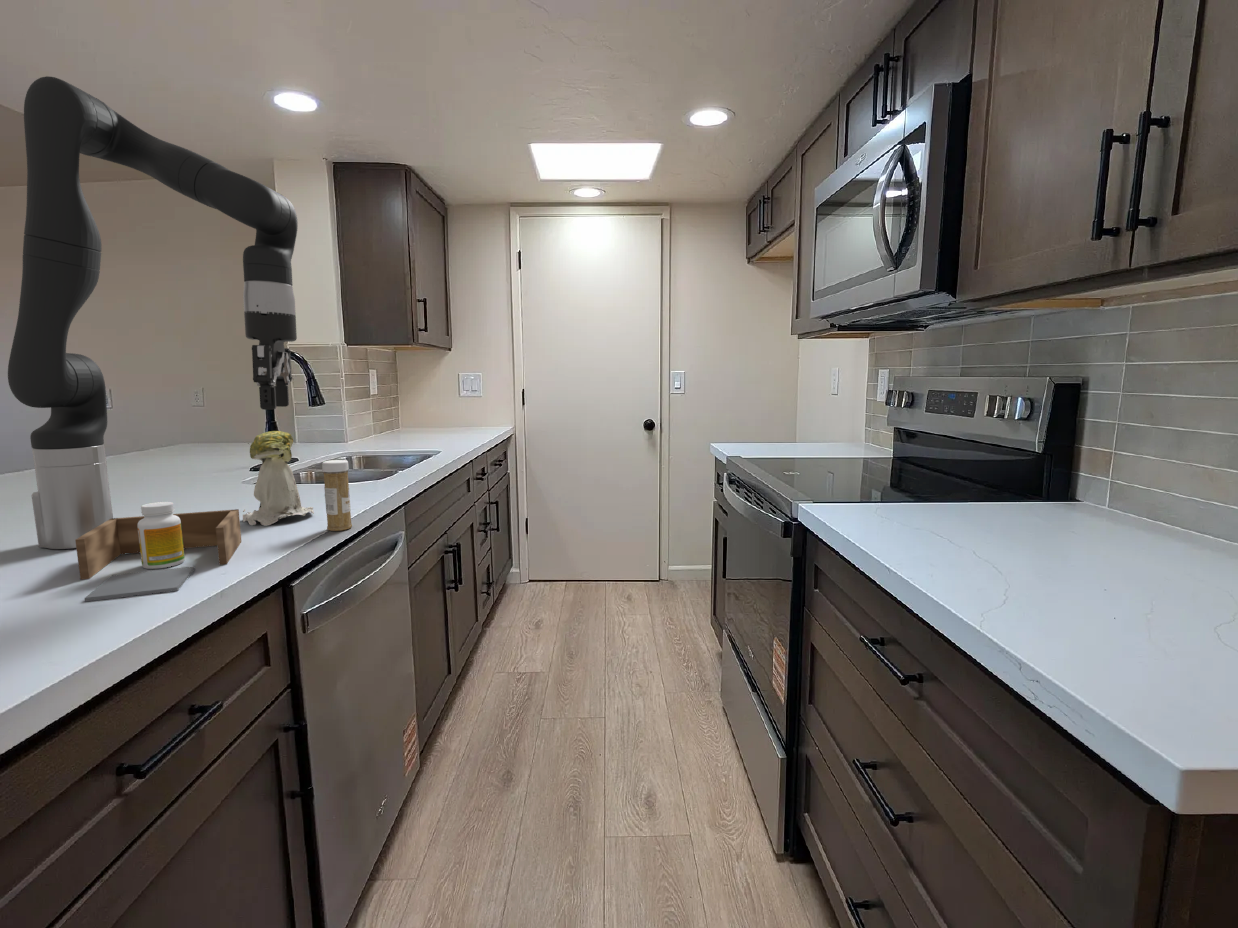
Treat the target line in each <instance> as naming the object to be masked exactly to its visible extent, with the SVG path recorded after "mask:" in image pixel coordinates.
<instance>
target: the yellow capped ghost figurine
mask: <svg viewBox="0 0 1238 928" xmlns="http://www.w3.org/2000/svg"><path fill="white" fill-rule="evenodd" d="M293 443H294V438H293V436H292V433H290V432H286V431H282V430H281V431H280V430H271V431H265V432H263V433H260V434H258V435H256V436H255V437H254V439H253V442H252V443H251V444H250V443H249V442H248V443H247V444H248V445H250V447H249V457H250V459H252V460H259V461H261V463H262V464H261V465H260V468H259V471H258V475H257V479H256V482H255V485H254V489H253V497H254V498H255V500H257V502H260V503H259V507H258V510H256V509H255V510H253V511H252V512H250V511H247V513H244V512H246V509H244V510H242V513H244V514H242V522H243V523H244V522H248V524H249V525H250V526H253V525H254V526H255V525H257V522H259V523H260V525H262V526H265V527H266V526H271V525H273V524H274V523H276V522H278V521H279V520H281V519H284V518H287V517H289V516H295V515H300V516H301V517H304V516H306V515H307V514H308V513H311V514H312V515H313V514H314V513H315V512H314V507H312V506H308V507H305V506H302V502H301V497H300V494H299V489H298V486H297V482H296V480H295V476H294V471H293V470H292V468H291V466H290V465H289V464H288V463H290V461H291V460H292V458H293V454H292V450H291V449H292V447H293V445H294V444H293ZM256 521H257V522H256Z"/></svg>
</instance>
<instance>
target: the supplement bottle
mask: <svg viewBox="0 0 1238 928" xmlns="http://www.w3.org/2000/svg"><path fill="white" fill-rule="evenodd" d="M140 507H141V508H140V509H141V515H142V516H144V518H143V519H141V520H140V521H139V522H138V525H137V526H138V536H139V544H140V553H139V554H140V561H141V566H142V568H143V569H148V570H161V569H168V568H171V566H172V567H175V566H178V565H180V564H183V563H184V562H185V560H186V559H185V550H184V549H185V548H184V547H183V538H182V529H181V520H180V518H179V517H178V516H176V515H173V514H174V512H175V506H174V502H171V501H159V502H156V501H155V502H150V503H146V504H142V505H141V506H140ZM167 567H168V568H167Z"/></svg>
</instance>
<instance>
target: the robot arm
mask: <svg viewBox="0 0 1238 928" xmlns="http://www.w3.org/2000/svg"><path fill="white" fill-rule="evenodd" d="M23 126H24V140H25V153H26V172H27V173H26V176H27V177H26V207H25V208H26V211H25V212H26V213H25V223H24V230H23V248H22V275H21V285H20V295H19V304H18V305H19V306H18V315H17V320H16V326H15V330H14V335H13V340H12V345H11V349H10V353H9V360H8V363H7V364H8V366H7V381H8V382H7V383H8V386H9V388H10V391H11V393H12V395H13V396H14V397H15V398H16V399H17V400H18V401H19V403H22V404H23V405H25V406H26V407H27V406H28V407H31V408H34V409H35V408H38V409H46V408H47V409H48V408H49V409H50V416H49V418H48V419H47V421H46V422H45V423H44V424H42V425H41V426H40V427H38V428H35V429H34V430H32V432H31V433H30V438H29V439H30V445H31V452H32V457H33V465H34V466H33V467H34V472H35V480H36V487H37V491H35V492H33V493H32V494H31V501H32V510H33V516H34V522H35V523H34V525H35V530H36V536H37V543H38V544H37V546H38V548H46V549H49V550H50V549H51V550H67V549H76V541H75V540H76V539H77V538H79V537H81V536H82V535H84V534H86V533H87V532H89V531H91V530H93V529H94V528H96V527H98V526H99V525H101V524H103V523H104V522H106V521H108V520H109V519H112V518H114V514H113V512H114V511H113V506H112V496H111V489H110V481H109V473H108V465H107V455H106V448H105V441H104V439H105V438H104V435H105V432H106V430H107V428H108V409H107V408H108V405H107V404H108V403H107V391H106V390H107V389H106V383H105V377H104V375H103V372H102V370H101V368H100V367H99V365H98V364H97V362H95V361H94V360H93V359H92V358H90V357H88V356H86V355H83V354H79V353H73V352H72V353H71V352H69V353H68V352H67V342H68V335H69V331H70V327H71V325H72V322H73V321H74V319H75V317H76V315H77V314H78V313H79V311H80V309H82V307H83V306H84V305H85V303H86V302H87V300H88V299H89V298H90V297H91V295H92V293H93V292H94V290H95V289H96V286H97V285H98V282H99V278H100V272H101V262H102V261H101V260H102V259H101V258H102V239H101V235H100V231H99V228H98V225H97V223H96V220H95V218H94V216H93V213H92V212H91V211H92V210H91V209H90V207H89V205H88V202H87V200H86V197H85V195H84V193H83V189H82V186H81V180H80V156H81V155H83V156H88V157H92V158H97V159H101V160H104V161H108V162H111V163H114V164H118V165H122V166H125V167H127V168H130V169H133V170H136V171H138V172H141V173H143V174H146V175H147V176H149V177H151V178H153V179H155V181H156V180H157V181H158V182H159V183H161V184H163V185H165V186H167V188H169V189H171V190H173V191H175V192H177V193H179V194H181V195H183V196H185V197H188V198H189V199H192V200H193V201H196V202H198V203H200V204H202V205H203V206H206V207H209V208H211V209H215V210H217V211H219V212H221V213H222V214H224V215H226V216H228V217H230V218H232V219H233V220H235V221H237V222H240V223H241V224H243V225H246V226H248V227H249V228H253V229H254V230H255V238H254V239H255V240H254V245H252V244H251V245H248V246H247V247H244V250H243V253H242V268H243V281H244V282H243V292H242V293H243V294H242V296H243V297H242V298H243V315H244V331H245V335H244V336H245V337H246V339H248V340H252V341H259V342H258V344H252V345H251V355H252V356H251V359H252V380H253V383H256V386H257V387H259V388H258V391H259V407H260V409H261V410H271V411H272V410H275V409H276V408H277V407H280V408H281V407H285V408H286V407H289V406H290V399H289V398H290V397H289V386H290V384H291V382H292V381H293V375H292V364H291V363H292V361H291V349H290V348H286V347H285V344H284V343H286V342H289V343H290V342H291V343H293V342H295V341H297V338H298V337H297V333H298V332H297V319H296V318H297V317H296V314H297V313H296V299H295V294H294V288H293V284H294V283H293V269H292V258H293V256H294V251H295V247H296V239H297V235H298V224H299V223H298V215H297V213H296V209H295V206H294V205H293V203H292V202H291V201H290V199H288V197H286V196H284V195H283V194H281V193H279V192H277V191H275V190H274V189H272V188H270V187H269V186H266V185H265V184H263V183H261V182H259V181H257V180H255V179H252V178H250V177H248V176H246V175H245V176H244V175H243V174H241V173H237V172H234V171H231V170H230V169H229V168H228V167H225V166H224V165H222V164H220V163H218V162H216V161H213V160H211V159H209V158H207V157H205V156H204V155H201V154H199V153H197V152H195V151H192V150H190V149H187V148H185V147H182V146H180V145H177V144H174V143H171V142H168V141H165V140H163V139H160V138H158V137H155V135H152V134H151V133H149V132H146V131H145V130H143V129H141V128H140V127H138V126H137V125H135V123H132V122H131V121H129V120H128V119H127V118H125V117H124V116H122V115H121V114H119V113H118V112H116V110H114V109H112V108H111V107H110V106H108V105H107V104H106V103H105V102H103V101H102V100H100V99H99V98H97V97H95V96H93V95H92V94H90V93H87V92H86V91H85V90H82V89H80V88H79V87H77V86H75V85H74V84H71V83H69V82H67V81H65V80H63V79H61V78H58V77H56V76H48V75H46V76H42V77H38V78H36V79H35V80H34V81H33V82H31V84H30V85H29V87H28V89H27V91H26V94H25V97H24V101H23ZM80 154H81V155H80Z"/></svg>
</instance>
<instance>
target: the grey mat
mask: <svg viewBox="0 0 1238 928" xmlns="http://www.w3.org/2000/svg"><path fill="white" fill-rule="evenodd" d="M195 567H196V566H194V565H193V566H183V567H175V568H162V569H153V570H145V571H134V572H127V573H119V574H118V573H115V574H111V575H110V576H109V577H108V578H107V579H106V580H104V581H103V582H102V583H101V584H100V585H98V586H97V587H96V588H95V589H94V590H92V591H91V592H90V593H89V594H87V596H85V597H84V602H93V601H101V600H111V599H118V598H119V599H120V598H125V597H126V598H129V597H134V596H133V595H137V596H144V595H151V594H152V593H153V594H161V593H160V592H163V593H170V592H169V591H171V592H176V591H177V590H178V591H179V590H180V589H181V587H182V586H183V585H184V583H186V582H187V580H188V579H187V578H189V577H190V576H191V575H192V574H193V573H194V572H195V570H196V568H195ZM179 588H180V589H179ZM178 591H177V592H178Z"/></svg>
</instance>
